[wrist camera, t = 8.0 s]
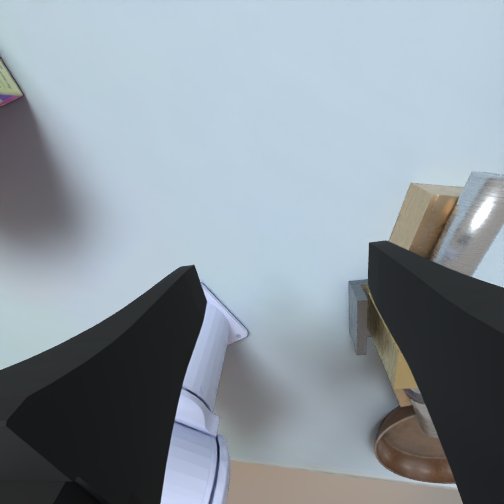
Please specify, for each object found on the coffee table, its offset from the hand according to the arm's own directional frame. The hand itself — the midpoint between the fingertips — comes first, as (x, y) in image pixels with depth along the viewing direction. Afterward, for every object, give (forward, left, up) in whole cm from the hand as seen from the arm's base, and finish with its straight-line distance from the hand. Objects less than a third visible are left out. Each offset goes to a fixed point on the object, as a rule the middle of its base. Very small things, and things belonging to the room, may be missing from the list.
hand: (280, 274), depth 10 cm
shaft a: (+9, -8, -10) cm, 15 cm away
